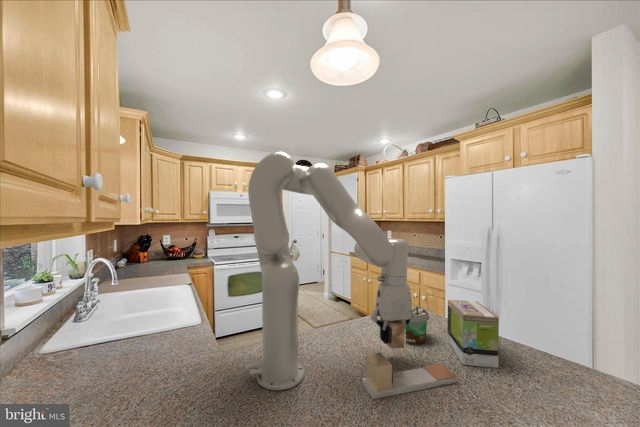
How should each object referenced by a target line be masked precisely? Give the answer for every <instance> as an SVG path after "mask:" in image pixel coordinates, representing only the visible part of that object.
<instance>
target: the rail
mask: <svg viewBox="0 0 640 427" xmlns="http://www.w3.org/2000/svg"><path fill="white" fill-rule="evenodd" d="M365 368H366V369H365V377H362V379H361V380H362V386H363V387H364V388H365V390H366V391H367V393H368V395H370V397H371V399H372V400H376V399H380V398H381V399H382V398H386V397H387V398H388V397H390V396H397V395H401V394H406V393H411V392H417V391H422V390H426V389H427V390H428V389H432V388H436V387H441V386H447V385H452V384H457V383H458V376H457V375H456V374H454V373H453V372H452V371H451V370H449V369H448V368H447V367H445V366H444V365H443V364H442V363H438V364H432V365H426V366H423V367H420V368H413V369H408V370H401V371H397V372H394V367H393V365H392V363H391V362H390V361H389V360H388V358H386V357H385V356H384V355H383V354H382V353H381V352H373V353H367V354H366V353H365Z"/></svg>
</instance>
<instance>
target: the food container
mask: <svg viewBox="0 0 640 427" xmlns="http://www.w3.org/2000/svg"><path fill="white" fill-rule="evenodd" d="M412 312H413V313H414V315H415V317H414V318H413V319H411V320H410V322H409V323H408V324H407V325H406V326H407V327H406V328H405V343H406V344H408V345H423V344H424V343H426V339H427V330H428V329H427V328H428V326H427V325H428V321H429V320H430V315H429V314H430V313H429V312H428V310H427V309H426V308H425V307H423V306H420V305H415V309H412Z"/></svg>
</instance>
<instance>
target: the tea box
mask: <svg viewBox="0 0 640 427" xmlns="http://www.w3.org/2000/svg"><path fill="white" fill-rule="evenodd" d="M499 320H500V318H499V316H498V315H497V314H495V313H494V312H492V311H491V310H490V309H489V308H487V307H486V306H484V305H483V304H482V303H480V302H479V301H477V300H476V301H474V300H459V299H448V300H447V332H446V333H447V334H446V335H447V343H448V344H449V346H450V347H451V349H452V350H453V351H454V353H455V355H456V356H457V358H458V359H459V361H460V362H461V364H462V365H464V366H473V367H474V366H475V367H482V368H483V367H484V368H494V369H495V368H499V347H500V346H499V340H500V339H499V338H500V335H499V334H500V332H499V331H500V329H499V328H500V322H499Z"/></svg>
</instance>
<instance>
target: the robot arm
mask: <svg viewBox="0 0 640 427" xmlns="http://www.w3.org/2000/svg"><path fill="white" fill-rule="evenodd" d="M247 187H248V189H247V190H248V194H247V195H248V203H249V208H250V209H249V210H250V213H251V221H252V224H253V232H254V234H253V235H254V236H253V237H254V238H253V239H254V243H255V246H256V252H257V256H258V261H259V265H260V270H261V271H260V272H261V283H262V284H261V286H262V288H261V289H262V291H261V294H262V298H261V299H262V302H261V303H262V304H261V305H262V308H261V309H262V310H261V314H262V318H261V319H262V320H261V321H262V356H260V360H257V361H256V362H251V363H249V362H248V363H245V364H244V372H245V373H248V372H249V376H250V377H251V376H256V381H257V384H258V385H259V386H260V387H262V388H264V389H267V390H269V391H283V390H287V389H291V388H293V387H295V386H297V385H299V383H301V381H302V380H303V379H304V377H305V372H304V370H305V369H304V367H303V365H301V364H300V363H299V293H300V275H299V272H298V269H297V267H296V265H295V264H294V263H293V261H292V257H291V252H290V247H289V246H290V245H289V243H290V233H289V230H288V227H287V221H286V217H285V213H284V207H283V206H284V205H283V200H282V191H288V192H292V193H298V194H301V195H307V196H308V195H309V196H313V197H314V199H315V200H316V201H317V203H318V204H319V205H320V206H321V208H322V209H323V211H324V212H325V214H326V215H327V216H328V218H329V219H330V220H331V221H332V223H333V224H334V225H336V226H337V227H339V228H340V229H342V230H343V231H345V232H346V233H347V234H348V235H350V237H351V238H352V239H353V240H354V241H355V242H356V243H355V244H354V248H353V250H354V254H355V255H356V257H357V258H358V259H359V260H360V261H362V262H363V263H367V264H369V265H371V266H374V267H377V268H381V269H380V270H381V271H380V275H379V276H377V278H376V280H377V282H380V283H378V287H377V290H376V296H375V305H374V306H375V308H374V309H373V312H372V313H371V315H370V316H369V319H370V320H371V321H373V323H375V324H376V325H377V326H378V327H379V339H380V341H382V343H384V344H385V345H387V343H388V330H387V325H388V321H398V320H401V321H402V322H404V323H405V328H406V327H407V326H406V325H407V324H408V323H409V322H410V320H411V319H413V318H414V317H415V315H414V313H413V312H412V311H413V303H412V294H411V293H412V292H411V288H410V284H408V261H409V260H408V256H409V253H408V252H409V251H408V250H409V245H408V244H409V243H408V242H407V240H405V239H403V238H393V237H392V238H391V237H389V238H388V237H387V236H386V234H385V232H384V231H383V230H382V228H381V227H380V226H379V224H377V223H376V222H375V220H373V218H372V217H371V216H369V215H368V214H367V212H365V211H364V210H363V209H362V207H360V206H359V205H358V204H357V202H355V200H354V199H353V197H352V196H351V195H350V193H349V192H348V190H347V189H346V188H345V186H344V185H343V183H342V181H341V180H340V179H339V177H338V176H337V175H336V173H335V172H334V171H333V169H332V168H331V167H330V166H329V165H327V164H326V163H322V162H319V163H315V164H312V165H311V166H303V165H297V164H295V162H294V159H293V158H292V157H291V156H290V155H289V154H288V153H286V152H283V151H274V152H271V153H269V154H267V155H266V156H265V157H263V158H262V159H261V160H260V161H259V162H258V163H257V164H256V166H255V167H254V169H253V170H252V172H251V174H250V178H249V181H248V186H247ZM378 317H379V318H378Z"/></svg>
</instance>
